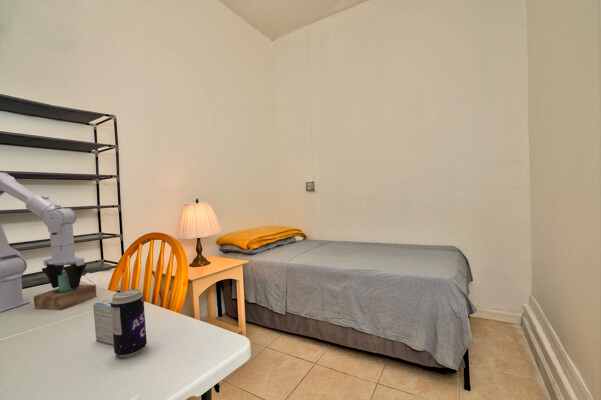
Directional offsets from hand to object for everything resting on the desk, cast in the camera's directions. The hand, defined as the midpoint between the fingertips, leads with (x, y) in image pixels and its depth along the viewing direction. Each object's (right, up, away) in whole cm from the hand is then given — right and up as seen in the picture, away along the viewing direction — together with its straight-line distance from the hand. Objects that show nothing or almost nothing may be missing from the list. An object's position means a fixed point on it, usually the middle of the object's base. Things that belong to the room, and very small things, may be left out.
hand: (65, 287), depth 90 cm
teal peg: (0, -4, 0) cm, 4 cm away
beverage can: (+42, -3, -33) cm, 53 cm away
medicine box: (+35, -3, -28) cm, 45 cm away
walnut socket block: (0, -5, 0) cm, 5 cm away
